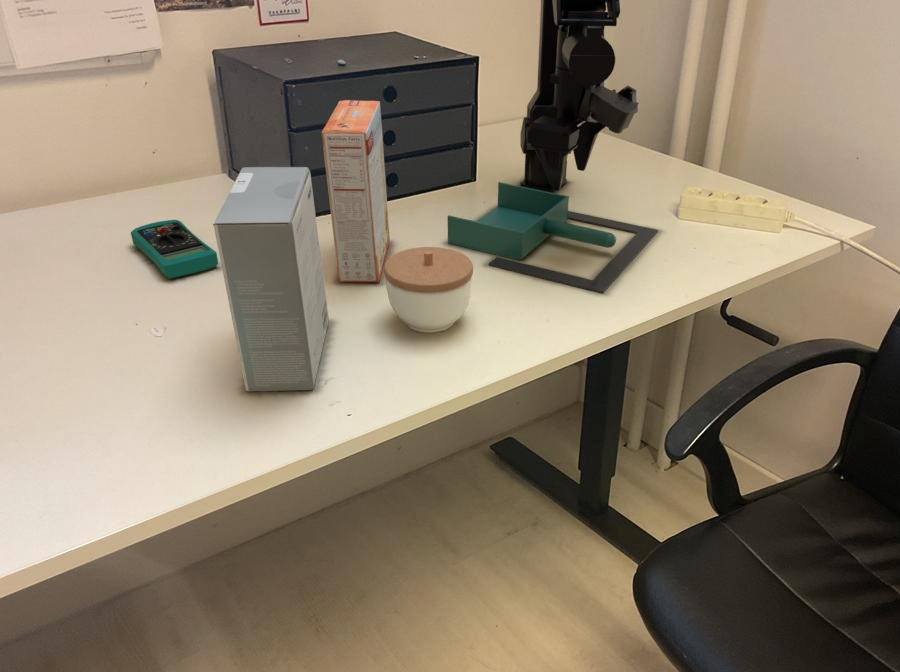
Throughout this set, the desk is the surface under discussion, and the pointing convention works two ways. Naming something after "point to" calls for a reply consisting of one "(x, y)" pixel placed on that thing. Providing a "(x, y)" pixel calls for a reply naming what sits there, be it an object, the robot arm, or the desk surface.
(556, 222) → the dustpan
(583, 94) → the robot arm
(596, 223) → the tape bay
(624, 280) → the desk surface
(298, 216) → the hard drive box
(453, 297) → the trinket box
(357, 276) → the cracker box
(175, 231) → the digital multimeter
